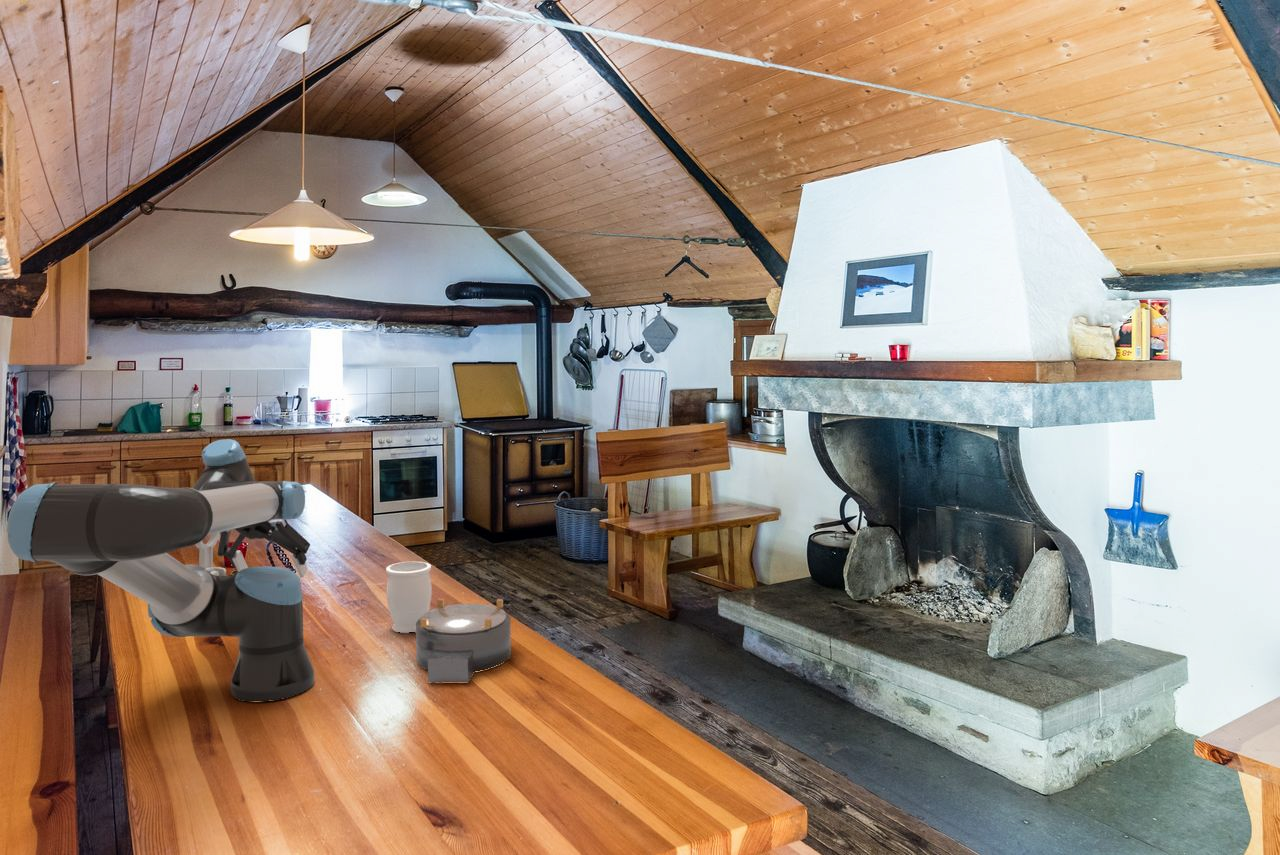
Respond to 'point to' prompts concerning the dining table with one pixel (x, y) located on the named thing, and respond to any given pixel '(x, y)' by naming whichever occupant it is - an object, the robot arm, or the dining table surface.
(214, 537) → the engine component
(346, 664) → the dining table surface
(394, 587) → the jar
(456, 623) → the cylinder
